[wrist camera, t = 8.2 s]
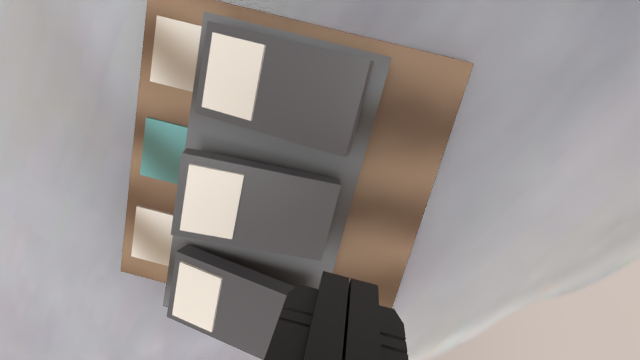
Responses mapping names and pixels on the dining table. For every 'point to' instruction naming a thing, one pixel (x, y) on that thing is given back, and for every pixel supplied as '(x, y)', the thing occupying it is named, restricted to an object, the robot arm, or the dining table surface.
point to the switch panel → (383, 160)
